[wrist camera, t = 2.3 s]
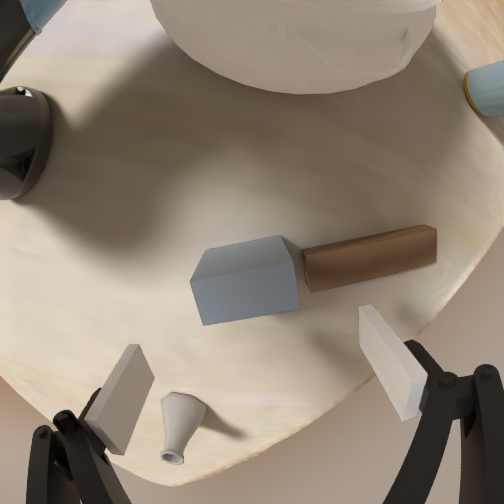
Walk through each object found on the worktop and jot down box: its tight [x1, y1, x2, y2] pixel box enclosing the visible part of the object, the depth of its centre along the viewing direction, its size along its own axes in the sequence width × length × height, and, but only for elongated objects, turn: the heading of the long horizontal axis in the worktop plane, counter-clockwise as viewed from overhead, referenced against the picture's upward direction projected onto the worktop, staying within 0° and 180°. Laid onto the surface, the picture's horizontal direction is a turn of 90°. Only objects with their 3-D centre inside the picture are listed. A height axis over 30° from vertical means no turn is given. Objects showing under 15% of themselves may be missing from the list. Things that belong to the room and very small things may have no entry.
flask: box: [160, 392, 206, 465], centre depth 32 cm, size 7×7×10 cm
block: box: [302, 225, 437, 293], centre depth 29 cm, size 4×16×2 cm, turn 101°
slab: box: [190, 235, 300, 326], centre depth 26 cm, size 4×8×9 cm, turn 101°
